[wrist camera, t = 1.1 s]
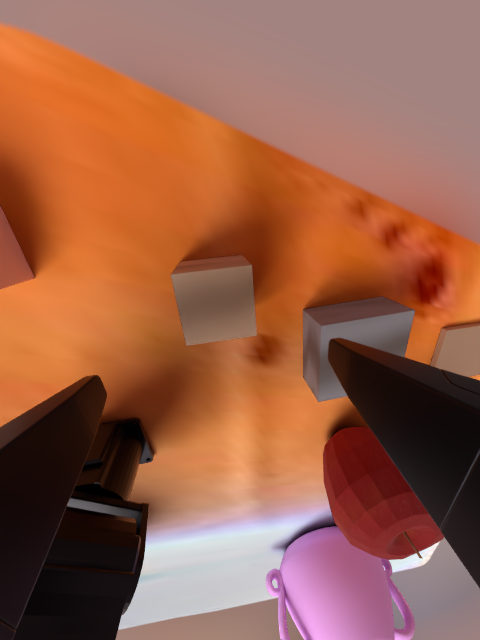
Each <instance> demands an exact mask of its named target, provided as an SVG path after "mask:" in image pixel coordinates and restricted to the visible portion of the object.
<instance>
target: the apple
mask: <svg viewBox="0 0 480 640" xmlns="http://www.w3.org/2000/svg"><path fill="white" fill-rule="evenodd" d="M323 469H324V484H325V488H326V492H327V496H328V500H329V504H330V508H331V512H332V516H333V519H334V522H335V524H336V525H337V526H338V528H339V529H340V531H341V532H342V533H343V535H344V536H345V537H346V539H347V540H348V541H349V543H350V544H351V545H352V546H354V547H356V548H358V549H360V550H362V551H364V552H367V553H369V554H371V555H373V556H376V557H379V558H383V559H388V560H392V559H404V558H406V557H408V556H411V555H413V554H415V553H417V555H418V556H419V558H422V557H421V555H420V554H419V551H422V550H424V549H426V548H428V547H430V546H432V545H434V544H435V543H437V542H439V541H441V540H442V539H443V538H444V536H443V534H442V533H441V531H440V530H441V529H439V528H438V526H437V525H436V524H435V522H434V521H433V519H432V518H431V516H430V515H429V513H428V512H427V510H426V509H425V508H424V506H423V505H422V503H421V502H420V500H419V499H418V497H417V496H416V495H415V493H414V492H413V490H412V489H411V487H410V486H409V484H408V483H407V481H406V480H405V479H404V477H403V476H402V474H401V473H400V471H399V470H398V468H397V467H396V465H395V464H394V463H393V461H392V460H391V458H390V457H389V455H388V454H387V452H386V451H385V449H384V448H383V447H382V445H381V444H380V442H379V441H378V439H377V438H376V436H375V435H374V434H373V432H372V431H371V429H370V428H368V427H350V428H344V429H341V430H339V431H338V432H337V433H335V434H334V435H333V436H332V437H331V439H330V440H329V441H328V442H327V443H326V445H325V447H324V452H323ZM422 559H423V558H422Z"/></svg>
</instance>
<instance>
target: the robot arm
mask: <svg viewBox="0 0 480 640" xmlns="http://www.w3.org/2000/svg"><path fill="white" fill-rule="evenodd" d="M328 361H329V363H330V365H331V367H332V369H333V371H334V372H335V374H336V376H337V378H338V380H339V382H340V384H341V385H342V387H343V389H344V391H345V392H346V394H347V396H348V397H349V399H350V400H351V402H352V403H353V404H354V406H355V407H356V409H357V410H358V412H359V413H360V415H361V416H362V418H363V419H364V420H365V422H366V423H367V425H368V426H369V428H370V429H371V431H372V432H373V434H374V435H375V436H376V438H377V439H378V441H379V442H380V444H381V445H382V447H383V448H384V449H385V451H386V452H387V454H388V455H389V457H390V458H391V460H392V461H393V463H394V464H395V465H396V467H397V468H398V470H399V471H400V473H401V474H402V476H403V477H404V479H405V480H406V481H407V483H408V484H409V486H410V487H411V489H412V490H413V492H414V493H415V495H416V496H417V497H418V499H419V500H420V502H421V503H422V505H423V506H424V508H425V509H426V510H427V512H428V513H429V515H430V516H431V518H432V519H433V521H434V522H435V524H436V525H437V526H438V528H439V529H441V530H440V531H441V533H442V534H443V536H444V537H445V538H446V540H447V541H448V543H449V544H450V545H451V547H452V549H453V550H454V552H455V553H456V554H457V556H458V557H459V559H460V560H461V562H462V563H463V565H464V566H465V567H466V569H467V570H468V572H469V573H470V575H471V576H472V578H473V579H474V581H475V582H476V583H477V585H478V586H479V588H480V381H479V380H476V379H473V378H469V377H466V376H463V375H459V374H456V373H453V372H450V371H446V370H443V369H441V370H440V369H439V368H437V367H433V366H430V365H427V364H424V363H420V362H417V361H414V360H411V359H408V358H404V357H401V356H398V355H395V354H392V353H388V352H385V351H382V350H379V349H376V348H372V347H369V346H366V345H363V344H359V343H356V342H353V341H350V340H347V339H343V338H333V339H330V340H329V345H328ZM106 398H107V393H106V390H105V388H104V385H103V383H102V381H101V378H100V377H99V376H98V375H92V376H86V377H84V378H82V379H80V380H79V381H77V382H75V383H74V384H72V385H70V386H69V387H67V388H65V389H64V390H62V391H60V392H59V393H57V394H55V395H54V396H52V397H50V398H49V399H47V400H45V401H44V402H42V403H40V404H38V405H37V406H35V407H33V408H32V409H30V410H28V411H27V412H25V413H23V414H22V415H20V416H18V417H17V418H15V419H13V420H12V421H10V422H8V423H7V424H5V425H3V426H2V427H0V640H115V639H116V635H117V631H118V627H119V623H120V619H121V615H123V614H124V613H125V612H126V610H127V608H128V607H129V605H130V603H131V600H132V598H133V595H134V593H135V590H136V587H137V584H138V580H139V577H140V573H141V569H142V565H143V560H144V552H145V541H146V530H147V518H148V507H149V504H148V503H137V502H132V501H129V498H130V494H131V491H132V487H133V484H134V480H135V477H136V473H137V470H138V466H139V464H143V463H148V462H151V461H152V460H153V457H154V455H153V453H152V450H151V447H150V445H149V442H148V440H147V437H146V434H145V432H144V429H143V426H142V424H141V421H140V420H139V419H137V418H134V419H128V420H122V421H116V422H110V423H104V424H99V423H100V419H101V416H102V412H103V409H104V406H105V402H106ZM135 423H136V424H135Z"/></svg>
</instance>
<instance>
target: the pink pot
mask: <svg viewBox="0 0 480 640" xmlns="http://www.w3.org/2000/svg"><path fill="white" fill-rule="evenodd" d="M383 566H384V567H385V570H386V571H385V570H384V567H383ZM391 575H392V567H391V564H390V562H389V560H388V559H383V558H379V557H376V556H373V555H371V554H369V553H367V552H364V551H362V550H360V549H358V548H356V547H354V546H352V545H351V544H350V543H349V541H348V540H347V539H346V537H345V536H344V535H343V533H342V532H341V531H340V529H339V528H338V526H333V527H326V528H322V529H318V530H315V531H312V532H309V533H306V534H304V535H302V536H301V537H300V538H298V539H296V540H295V541H294V542H293V543H291V544H290V545H289V547H288V548H287V549H286V551H285V553H284V557H283V559H282V562H281V566H280V570H278V569H272V570H271V571H270V572H269V573H268V574H267V576H266V587H267V590H268V592H269V593H270V594H271V595H272V596H274V597H275V596H277V595H278V602H279V603H278V608H279V609H278V617H279V632H280V637H281V640H290V638H289V635H288V630H287V624H286V623H287V622H286V605H287V607H288V610H289V612H290V614H291V616H292V619H293V621H294V623H295V624H296V626H297V628H298V630H299V631H300V633H301V635H302V636H303V638H304V640H410V639H411V638H412V637H413V634H414V630H415V622H414V617H413V615H412V612H411V610H410V608H409V606H408V604H407V602H406V601H405V599H404V597H403V596H402V594H401V593H400V591H399V590H398V588H397V587H396V586H395V584H394V583H393V581H392V580H391V579H390V576H391ZM273 579H275V580H276V581H277V584H278V588H274V587H273V585H272V580H273ZM391 596H392V598H393V599H394V601H395V602H396V604H397V606H398V608H399V609H400V611H401V613H402V616H403V618H404V621H405V628H404V629H401V630H400V629H395V628H394V621H393V611H392V602H391Z"/></svg>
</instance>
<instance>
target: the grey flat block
mask: <svg viewBox="0 0 480 640" xmlns="http://www.w3.org/2000/svg"><path fill="white" fill-rule="evenodd" d="M414 312H415V310H413V309H411V308H409V307H406V306H404V305H402V304H399V303H397V302H395V301H392V300H390V299H388V298H385V297H383V296H382V297H376V298H370V299H364V300H357V301H351V302H345V303H339V304H333V305H327V306H321V307H314V308H308V309H303V377H304V379H305V381H306V382H307V384H308V386H309V387H310V389H311V391H312V392H313V394H314V395H315V397H316V399H317V400H318V402H320V401H325V400H331V399H336V398H341V397H346V396H347V394H346V392H345V391H344V389H343V387H342V385H341V384H340V382H339V380H338V378H337V376H336V374H335V372H334V371H333V369H332V367H331V365H330V363H329V361H328V345H329V340H330V339H333V338H343V339H347V340H350V341H353V342H356V343H359V344H363V345H366V346H369V347H372V348H376V349H379V350H382V351H385V352H388V353H392V354H395V355H398V356H401V357H405V352H406V348H407V344H408V339H409V335H410V330H411V326H412V321H413V317H414Z"/></svg>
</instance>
